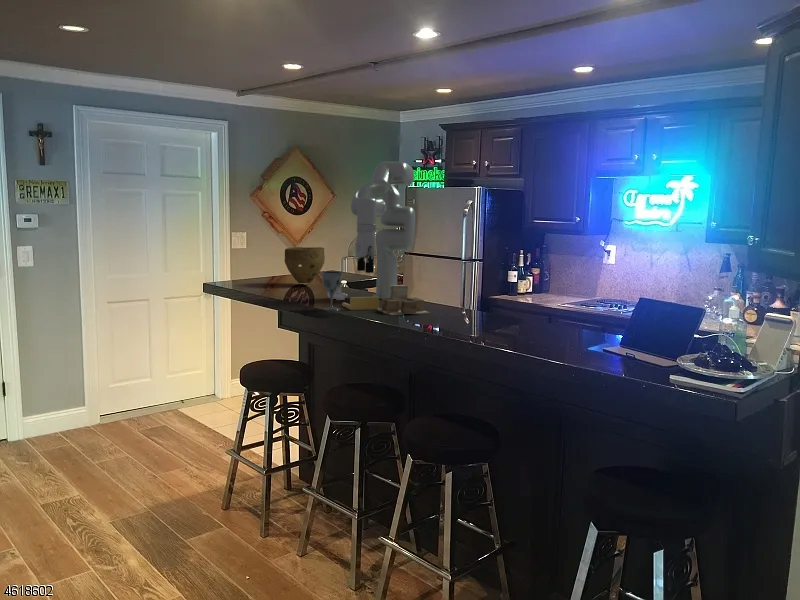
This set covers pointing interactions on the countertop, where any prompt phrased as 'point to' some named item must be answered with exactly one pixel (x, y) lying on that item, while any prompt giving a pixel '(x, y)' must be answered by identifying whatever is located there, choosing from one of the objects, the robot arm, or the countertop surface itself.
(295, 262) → the bowl
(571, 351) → the countertop surface
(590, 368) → the countertop surface
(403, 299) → the stepped wooden block
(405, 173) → the robot arm
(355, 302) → the tan wooden block
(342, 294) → the seated beast figurine
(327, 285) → the wine glass
